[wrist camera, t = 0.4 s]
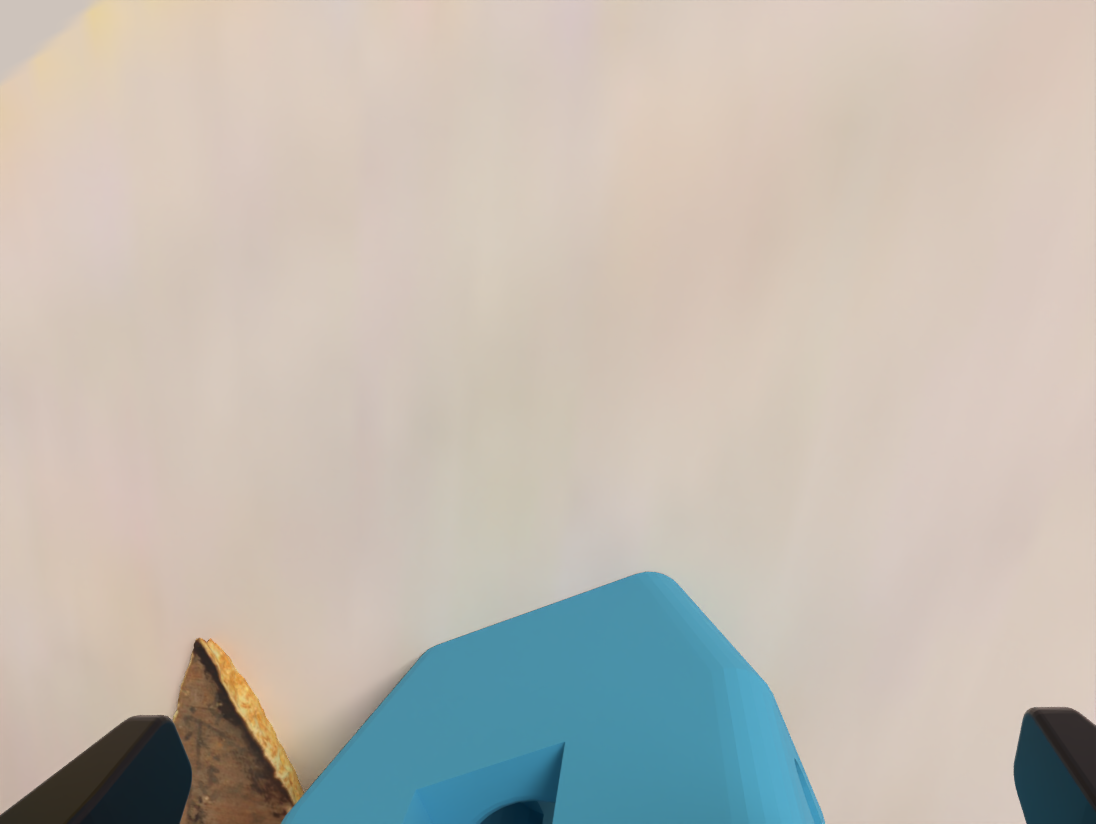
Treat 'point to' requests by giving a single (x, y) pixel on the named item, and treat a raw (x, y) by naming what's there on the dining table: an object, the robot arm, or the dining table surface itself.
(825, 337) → the dining table surface
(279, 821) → the shard
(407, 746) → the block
